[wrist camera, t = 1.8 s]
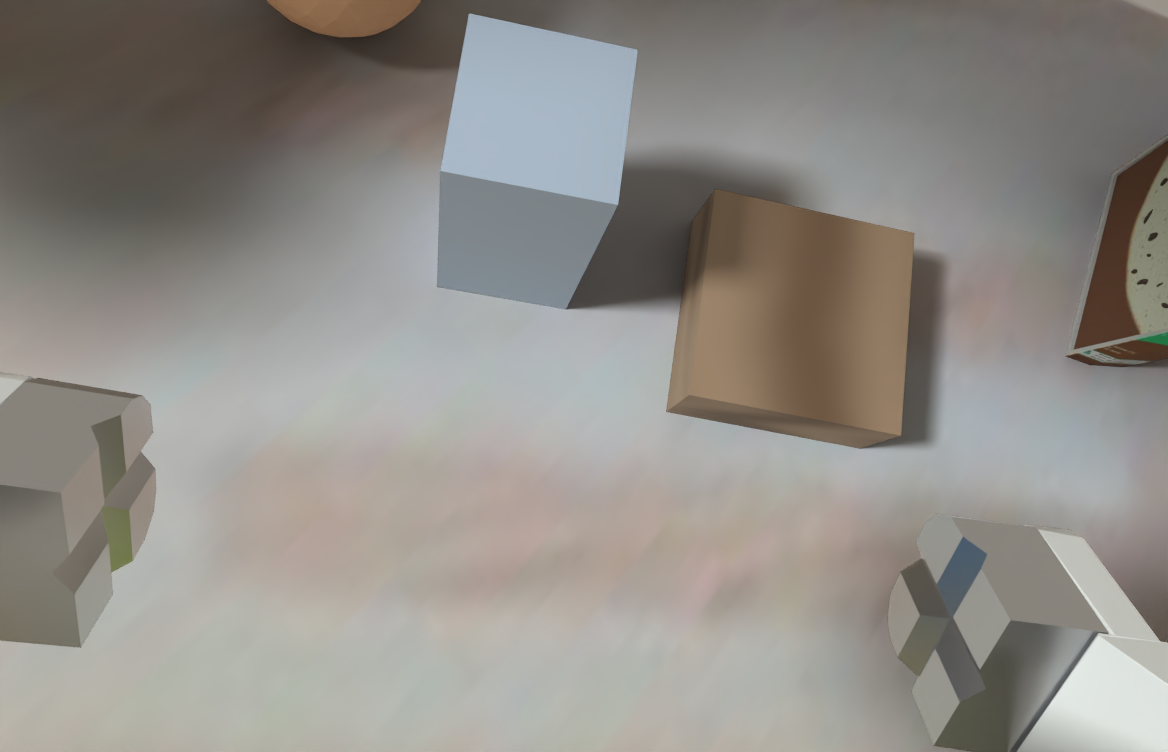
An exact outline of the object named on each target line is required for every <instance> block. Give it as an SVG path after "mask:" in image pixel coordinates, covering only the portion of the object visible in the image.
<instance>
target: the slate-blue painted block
mask: <svg viewBox="0 0 1168 752" xmlns="http://www.w3.org/2000/svg"><path fill="white" fill-rule="evenodd" d="M637 53H638V50H637V49H633V48H628V47H623V46H619V45H614V44H609V43H605V42H600V41H595V40H591V39H586V38H582V37H577V36H572V35H568V34H563V33H558V32H554V31H549V30H544V29H540V28H535V27H531V26H526V25H521V24H517V23H512V22H507V21H503V20H498V19H493V18H489V17H484V16H480V15H475V14H470V13H469V16H468V22H467V27H466V33H465V38H464V44H463V49H462V55H461V60H460V66H459V71H458V77H457V82H456V87H455V93H454V98H453V104H452V109H451V115H450V120H449V126H448V131H447V137H446V142H445V148H444V153H443V159H442V164H441V170H440V200H439V235H438V269H437V287H441V288H447V289H453V290H458V291H464V292H470V293H476V294H481V295H487V296H493V297H498V298H504V299H510V300H516V301H521V302H527V303H533V304H539V305H544V306H550V307H556V308H561V309H566V308H567V306H568V304H569V302H570V300H571V298H572V296H573V294H574V292H575V290H576V288H577V286H578V284H579V282H580V280H581V278H582V276H583V274H584V272H585V270H586V268H587V266H588V264H589V262H590V260H591V258H592V256H593V254H594V252H595V250H596V248H597V246H598V244H599V242H600V240H601V238H602V236H603V234H604V232H605V230H606V228H607V226H608V224H609V222H610V220H611V218H612V216H613V214H614V212H615V210H616V208H617V206H618V202H619V194H620V186H621V178H622V170H623V162H624V155H625V147H626V139H627V131H628V123H629V115H630V107H631V100H632V92H633V84H634V76H635V68H636V60H637Z"/></svg>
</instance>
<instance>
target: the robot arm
mask: <svg viewBox="0 0 1168 752" xmlns="http://www.w3.org/2000/svg"><path fill="white" fill-rule="evenodd" d="M152 433H153V426H152V416H151V406H150V403H149V402H148V401H147V400H146V399H145V397H144V396H143V395H137V394H132V393H126V392H120V391H114V390H108V389H102V388H96V387H90V386H84V385H78V384H72V383H66V382H60V381H54V380H48V379H42V378H36V379H35V378H32V377H30V376H23V375H16V374H10V373H3V372H0V640H1V641H12V642H23V643H34V644H46V645H57V646H68V647H80V648H81V647H82V645H83V643H84V642H85V640H86V638H87V637H88V635H89V633H90V632H91V630H92V628H93V627H94V625H95V623H96V622H97V620H98V618H99V617H100V615H101V613H102V612H103V610H104V608H105V607H106V605H107V603H108V602H109V600H110V598H111V597H112V595H113V589H112V577H111V572H113V571H115V570H117V569H119V568H120V567H122V566H124V565H126V564H128V563H130V562H131V561H133V559H134V558H135V556H136V554H137V552H138V551H139V549H140V547H141V545H142V543H143V542H144V540H145V537H146V534H147V531H148V528H149V525H150V521H151V518H152V515H153V512H154V504H155V495H156V473H155V468H154V467H153V465H152V464H151V463H150V462H149V461H148V459H147V458H146V457H145V456H144V455H143V454H142V452H141V450H142V448H143V447H144V445H145V444H146V442H147V441H148V439H149V438H150V436H151V435H152ZM916 543H917V546H918V549H919V552H920V555H921V559H920V560H918V561H917V562H915V563H914V564H912V565H910V566H909V567H907V568H906V569H904V570H903V571H901V572H900V574H899V576H898V578H897V581H896V583H895V585H894V587H893V590H892V592H891V594H890V600H889V609H888V618H887V620H888V627H889V634H890V639H891V642H892V645H893V647H894V650H895V652H896V655H897V658H898V659H900V660H901V661H902V662H903V663H904V664H905V665H906V666H907V667H908V668H909V669H911V670H912V671H913V672H914V673H915V674H916V675H917V676H918V678H917V680H916V682H915V685H914V687H913V689H912V691H911V692H912V695H913V697H914V700H915V702H916V704H917V707H918V709H919V712H920V714H921V717H922V719H923V721H924V724H925V726H926V729H927V731H928V733H929V736H930V738H931V741H932V743H933V746H939V747H946V748H952V749H959V750H966V751H973V752H1168V643H1166V642H1160V640H1159V639H1158V638H1157V636H1156V635H1155V634H1154V632H1153V631H1152V630H1151V628H1150V627H1149V626H1148V624H1147V623H1146V622H1145V620H1144V619H1143V618H1142V616H1141V615H1140V614H1139V612H1138V611H1137V610H1136V608H1135V607H1134V605H1133V604H1132V603H1131V601H1130V600H1129V599H1128V597H1127V596H1126V595H1125V593H1124V592H1123V591H1122V589H1121V588H1120V587H1119V585H1118V584H1117V583H1116V581H1115V580H1114V579H1113V577H1112V576H1111V575H1110V573H1109V572H1108V571H1107V569H1106V568H1105V567H1104V565H1103V564H1102V563H1101V561H1100V560H1099V559H1098V557H1097V556H1096V554H1095V553H1094V552H1093V550H1092V549H1091V548H1090V546H1089V545H1088V544H1087V542H1086V541H1085V540H1084V538H1083V537H1081V536H1079V535H1078V534H1076V533H1074V532H1073V531H1071V530H1069V529H1061V528H1053V527H1044V526H1036V525H1027V524H1025V525H1017V524H1010V523H1002V522H995V521H988V520H981V519H973V518H966V517H959V516H952V515H944V514H935V515H934V516H933V517H932V518H931V519H930V520H929V521H928V522H927V523H925V525H924V527H923V529H922V531H921V533H920V535H919V537H918V538H917V540H916Z"/></svg>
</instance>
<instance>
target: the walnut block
mask: <svg viewBox="0 0 1168 752" xmlns="http://www.w3.org/2000/svg"><path fill="white" fill-rule="evenodd" d="M913 247H914V233H911V232H907V231H902V230H898V229H893V228H889V227H884V226H880V225H875V224H871V223H866V222H862V221H857V220H853V219H848V218H844V217H839V216H835V215H830V214H826V213H821V212H817V211H813V210H808V209H804V208H799V207H795V206H790V205H786V204H781V203H777V202H772V201H768V200H763V199H759V198H754V197H750V196H745V195H741V194H736V193H732V192H727V191H723V190H718V189H715V190H714V191H713V193H712V194H711V196H710V197H709V198H708V200H707V201H706V203H705V204H704V205H703V207H702V208H701V210H700V211H699V212H698V214H697V215H696V216H695V218H694V219H693V221H692V223H691V230H690V238H689V245H688V253H687V260H686V268H685V275H684V283H683V290H682V297H681V305H680V312H679V320H678V327H677V335H676V342H675V350H674V357H673V364H672V372H671V379H670V387H669V394H668V402H667V409H666V412H670V413H676V414H681V415H686V416H691V417H697V418H702V419H707V420H713V421H718V422H723V423H728V424H734V425H739V426H744V427H749V428H755V429H760V430H765V431H771V432H776V433H781V434H786V435H792V436H797V437H802V438H807V439H813V440H818V441H823V442H829V443H834V444H839V445H844V446H850V447H855V448H860V449H861V448H864V447H867V446H870V445H873V444H876V443H880V442H883V441H886V440H889V439H892V438H895V437H898V436H901V429H902V414H903V398H904V383H905V368H906V353H907V338H908V323H909V307H910V292H911V277H912V262H913Z"/></svg>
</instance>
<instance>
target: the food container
mask: <svg viewBox="0 0 1168 752" xmlns="http://www.w3.org/2000/svg"><path fill="white" fill-rule="evenodd" d="M1066 357H1069V358H1072V359H1075V360H1078V361H1080V362H1083V363H1086V364H1089V365H1099V366H1115V367H1124V366H1130V365H1135V364H1140V363H1145V362H1151V361H1156V360H1161V359H1166V358H1168V135H1166V136H1165V137H1163V138H1162V139H1160V140H1159V141H1158V142H1156V143H1155V144H1153V145H1152V146H1150V147H1149V148H1148V149H1146V150H1145V151H1143V152H1142V153H1140V154H1139V155H1138V156H1136V157H1135V158H1133V159H1132V160H1130V161H1129V162H1128V163H1126V164H1125V165H1123V166H1122V167H1120V168H1119V169H1117V170H1116V171H1115V172H1113V173H1112V175H1111V179H1110V183H1109V187H1108V190H1107V194H1106V198H1105V202H1104V206H1103V210H1102V214H1101V218H1100V222H1099V226H1098V230H1097V234H1096V238H1095V242H1094V246H1093V250H1092V253H1091V257H1090V261H1089V265H1088V269H1087V273H1086V277H1085V281H1084V285H1083V289H1082V293H1081V297H1080V301H1079V305H1078V309H1077V313H1076V316H1075V320H1074V324H1073V328H1072V332H1071V336H1070V340H1069V344H1068V348H1067V352H1066Z"/></svg>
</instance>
